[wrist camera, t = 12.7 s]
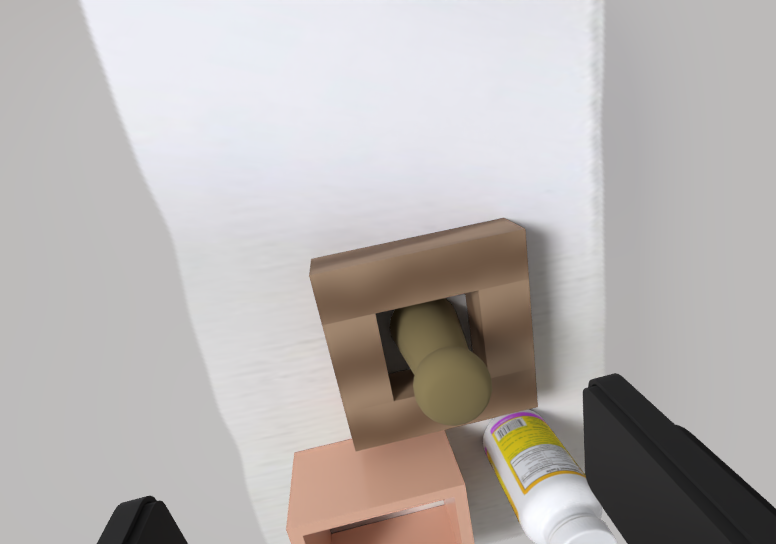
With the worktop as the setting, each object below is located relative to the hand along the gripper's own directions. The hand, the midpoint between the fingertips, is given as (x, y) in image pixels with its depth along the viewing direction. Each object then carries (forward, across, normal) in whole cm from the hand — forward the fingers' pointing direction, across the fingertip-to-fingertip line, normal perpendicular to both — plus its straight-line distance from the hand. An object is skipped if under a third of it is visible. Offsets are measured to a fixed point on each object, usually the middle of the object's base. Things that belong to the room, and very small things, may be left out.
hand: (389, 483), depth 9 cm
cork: (+25, -4, +11) cm, 28 cm away
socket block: (+25, -4, +11) cm, 28 cm away
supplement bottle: (+25, -11, +25) cm, 37 cm away
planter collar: (+24, +3, +27) cm, 36 cm away
